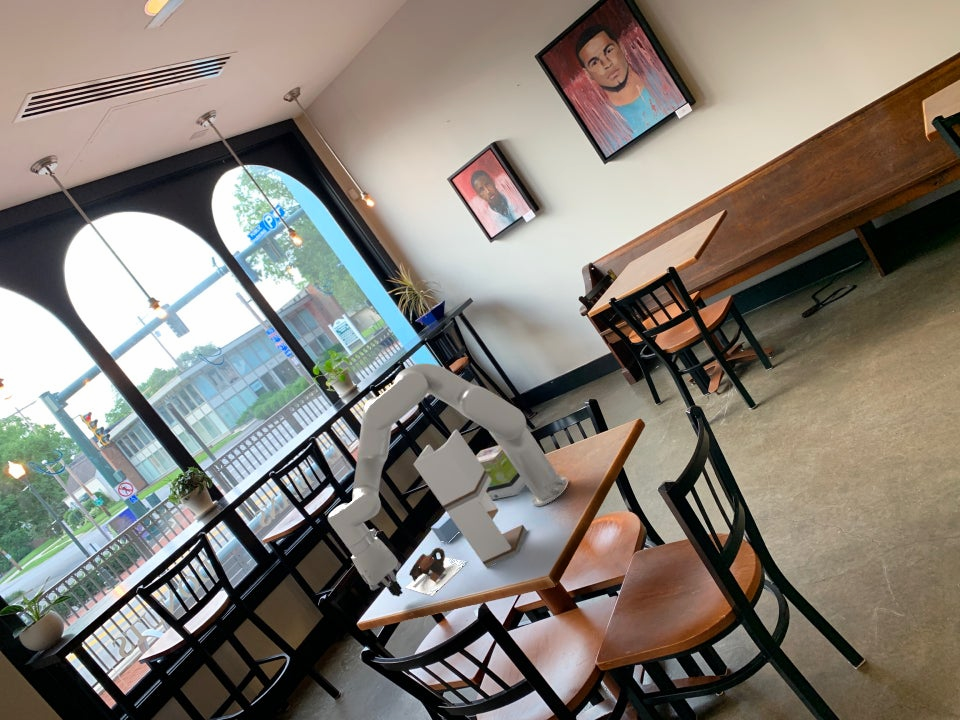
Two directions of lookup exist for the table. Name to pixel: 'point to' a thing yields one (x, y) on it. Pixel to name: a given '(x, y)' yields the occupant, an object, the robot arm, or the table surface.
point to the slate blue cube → (445, 529)
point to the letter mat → (427, 584)
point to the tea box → (500, 473)
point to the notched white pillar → (468, 498)
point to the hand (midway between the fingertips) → (398, 594)
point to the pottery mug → (429, 565)
